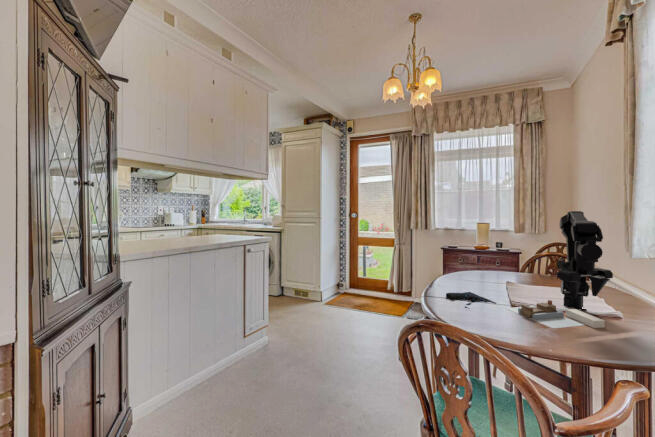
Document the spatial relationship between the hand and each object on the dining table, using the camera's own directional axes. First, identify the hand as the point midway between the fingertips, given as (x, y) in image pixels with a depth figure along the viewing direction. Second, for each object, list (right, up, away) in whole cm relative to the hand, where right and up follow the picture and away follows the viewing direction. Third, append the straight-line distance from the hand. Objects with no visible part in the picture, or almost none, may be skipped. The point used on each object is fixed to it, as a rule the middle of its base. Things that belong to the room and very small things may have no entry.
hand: (584, 297), depth 112 cm
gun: (-29, -11, +27) cm, 41 cm away
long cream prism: (0, -11, 0) cm, 11 cm away
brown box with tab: (-12, -9, +7) cm, 17 cm away
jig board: (-11, -10, +6) cm, 17 cm away
